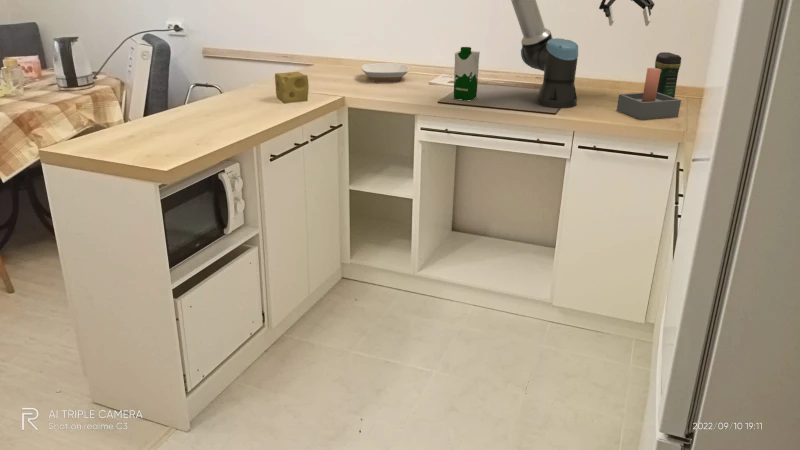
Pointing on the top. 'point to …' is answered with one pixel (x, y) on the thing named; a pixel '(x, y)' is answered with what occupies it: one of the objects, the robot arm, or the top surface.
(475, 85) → the milk carton
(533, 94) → the top surface
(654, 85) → the peg
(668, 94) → the coffee jar
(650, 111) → the box
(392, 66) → the bowl
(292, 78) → the cheese
